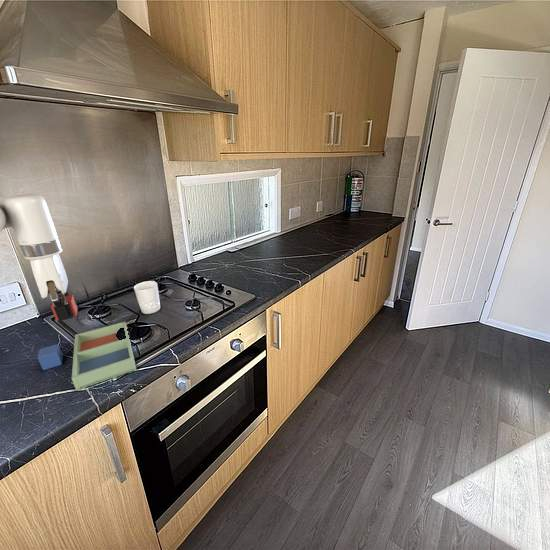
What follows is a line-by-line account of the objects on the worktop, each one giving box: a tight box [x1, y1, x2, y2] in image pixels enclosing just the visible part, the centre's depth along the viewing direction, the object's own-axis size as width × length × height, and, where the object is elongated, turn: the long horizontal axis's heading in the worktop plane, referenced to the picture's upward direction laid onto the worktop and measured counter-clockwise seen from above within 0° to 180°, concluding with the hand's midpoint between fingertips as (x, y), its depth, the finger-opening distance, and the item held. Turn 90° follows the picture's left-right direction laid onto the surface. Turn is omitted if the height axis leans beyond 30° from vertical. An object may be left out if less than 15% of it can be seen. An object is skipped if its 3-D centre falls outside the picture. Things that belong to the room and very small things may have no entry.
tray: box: [71, 321, 137, 391], centre depth 84 cm, size 14×22×4 cm, turn 30°
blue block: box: [37, 343, 64, 371], centre depth 82 cm, size 4×4×4 cm
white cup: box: [133, 280, 161, 315], centre depth 108 cm, size 8×8×10 cm
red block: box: [50, 294, 79, 322], centre depth 76 cm, size 4×4×4 cm
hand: (67, 313), depth 77 cm, fingers closed on red block, 4 cm apart
